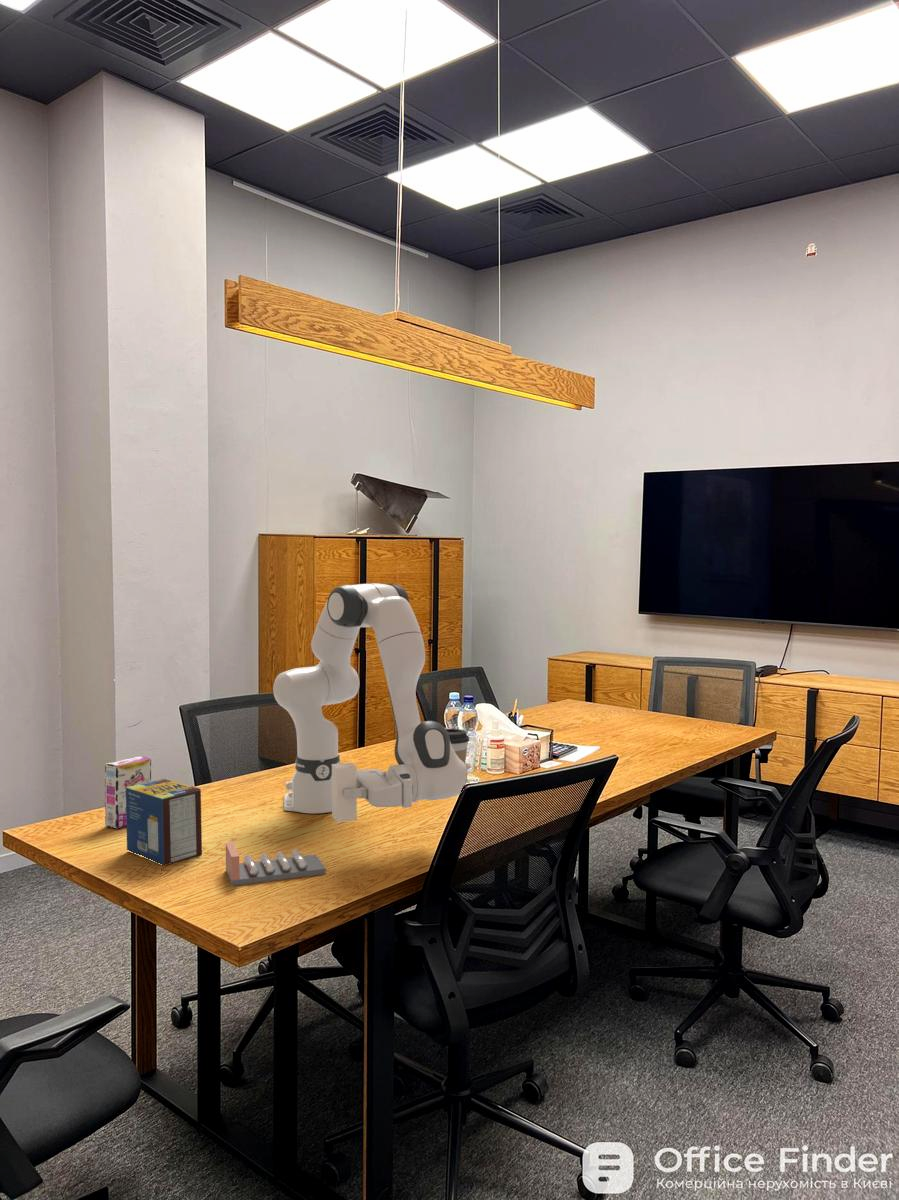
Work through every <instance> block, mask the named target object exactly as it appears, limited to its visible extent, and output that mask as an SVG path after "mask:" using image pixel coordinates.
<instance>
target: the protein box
mask: <svg viewBox="0 0 899 1200" xmlns="http://www.w3.org/2000/svg"><path fill="white" fill-rule="evenodd" d="M126 823H127V826H126V851H127V850H129V851H131V852H133V853H136V854H139V855H142V856H144V857H146V858H148V859H151V860H153V861H155V862H157V863H160V864H162V865H165V864H168V865H170V864H169V863H172V864H174V863H173V862H175V863H177V862H176V861H178V862H180V861H185V860H188V859H190V858H194V857H197V856H200V855H202V854H203V843H202V842H203V841H202V839H203V837H202V831H203V829H202V789H201V788H198V787H195V786H191V785H187V784H183V783H180V782H177V781H172V780H169V779H166V778H162V779H158V780H153V781H152V780H151V782H148V783H143V784H139V785H134V786H129V787H126ZM184 859H185V860H184ZM157 863H156V864H157ZM162 865H161V866H162ZM165 866H166V865H165Z"/></svg>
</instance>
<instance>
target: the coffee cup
mask: <svg viewBox="0 0 899 1200" xmlns="http://www.w3.org/2000/svg"><path fill="white" fill-rule="evenodd" d="M445 729H446V730H447V732H448V734H449V738H450V742H451V745H452V747H453V749H454V751H455V753H456V755H457V756H458V758H459V759H460V760H461V761H462V762H464V764H465V765H466V759H467V751H468V742H470V736H469V735H468V734H467V732H466V730H464V729H458V728H445Z"/></svg>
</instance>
